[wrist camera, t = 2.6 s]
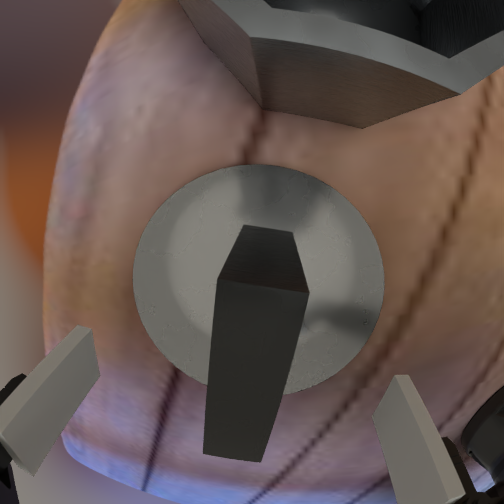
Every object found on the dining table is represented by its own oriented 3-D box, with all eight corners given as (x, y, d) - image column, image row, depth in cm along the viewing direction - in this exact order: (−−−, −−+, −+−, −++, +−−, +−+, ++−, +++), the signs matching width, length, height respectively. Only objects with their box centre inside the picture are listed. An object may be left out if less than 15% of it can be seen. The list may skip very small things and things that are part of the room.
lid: (338, 384, 24) (361, 490, 13) (148, 355, 25) (93, 449, 14) (395, 190, 19) (502, 221, 8) (155, 152, 20) (44, 149, 8)
